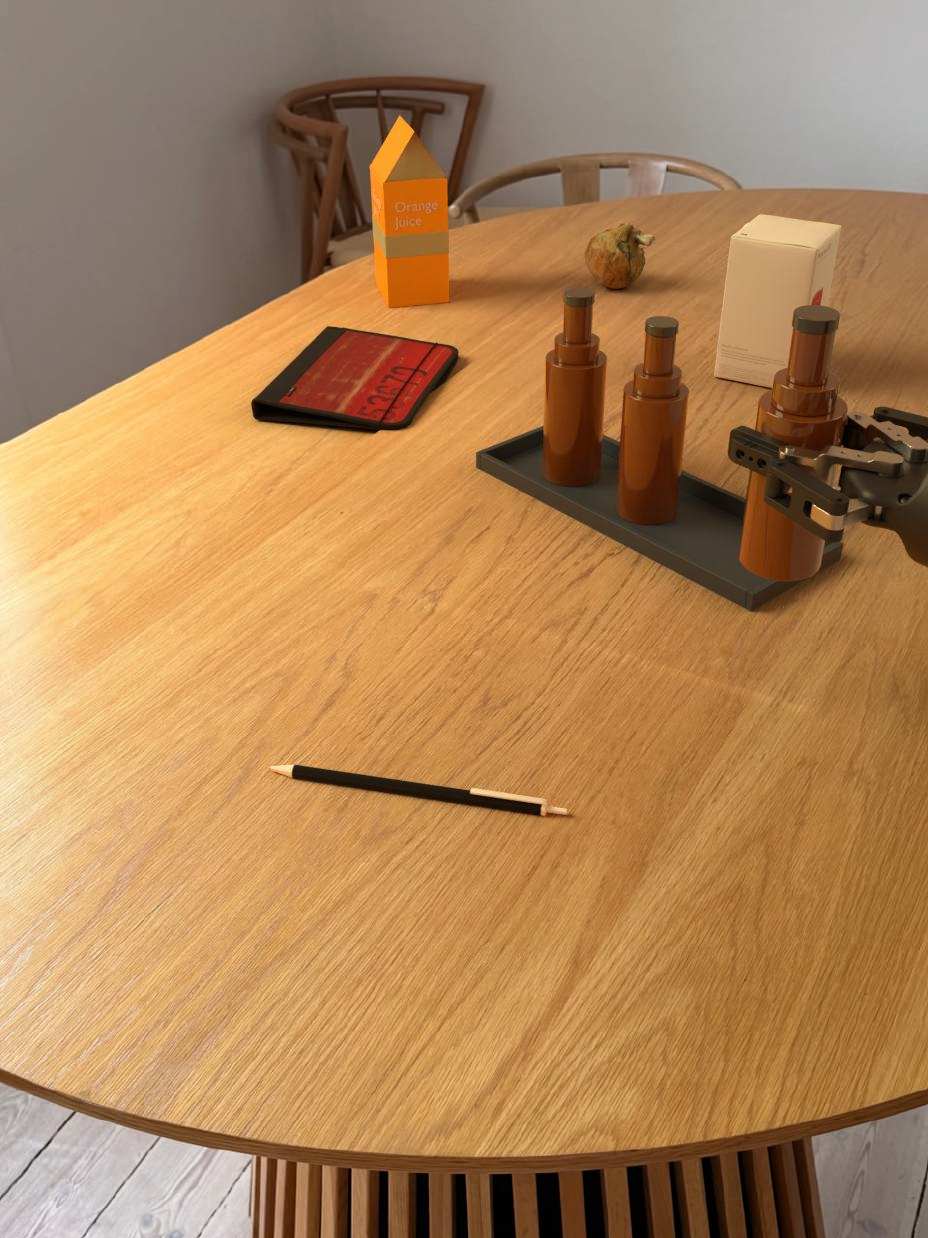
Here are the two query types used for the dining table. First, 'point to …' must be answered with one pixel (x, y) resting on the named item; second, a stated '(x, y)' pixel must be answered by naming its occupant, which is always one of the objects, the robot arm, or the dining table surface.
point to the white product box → (771, 292)
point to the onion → (617, 255)
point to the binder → (356, 381)
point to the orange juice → (409, 221)
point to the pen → (422, 790)
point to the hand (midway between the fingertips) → (763, 427)
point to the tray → (685, 544)
